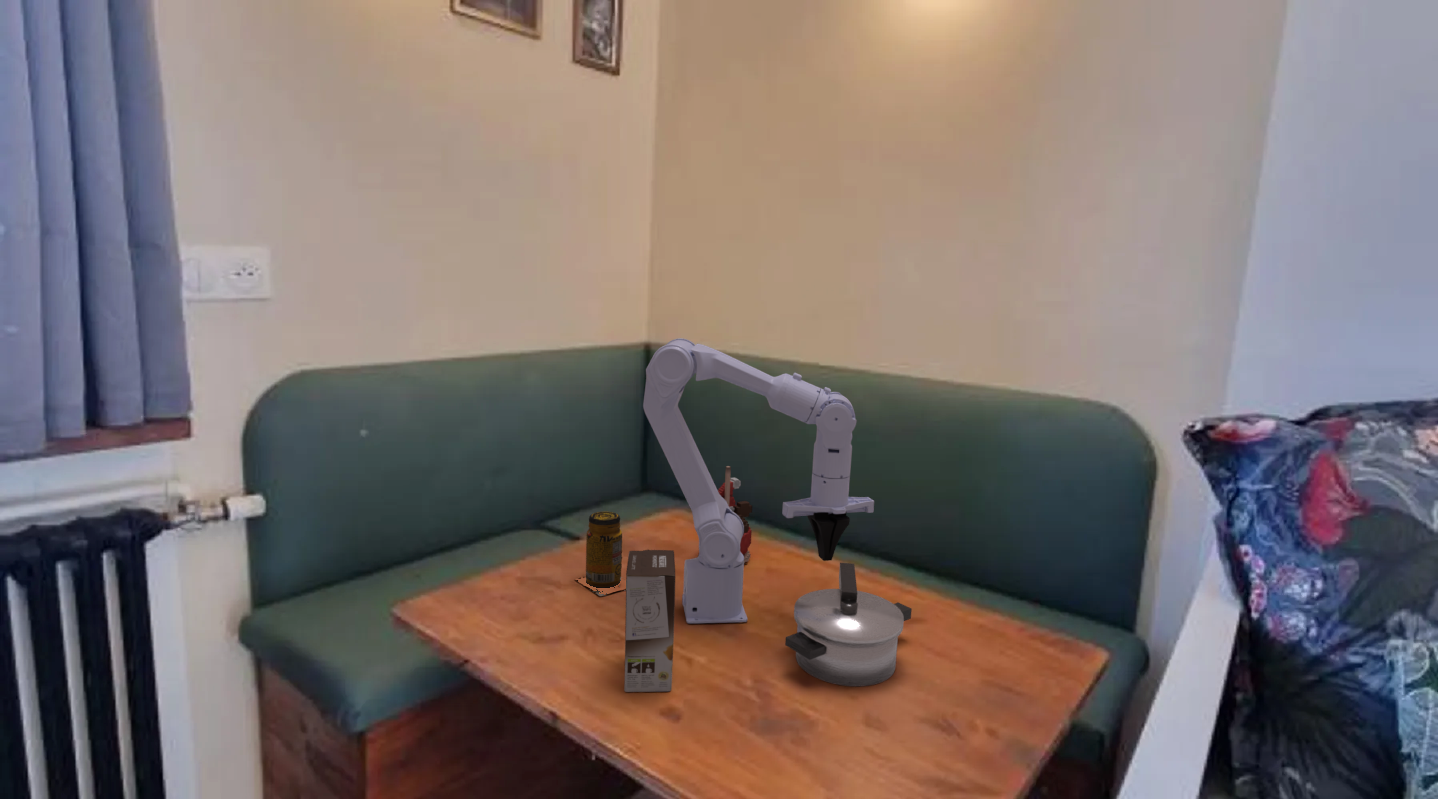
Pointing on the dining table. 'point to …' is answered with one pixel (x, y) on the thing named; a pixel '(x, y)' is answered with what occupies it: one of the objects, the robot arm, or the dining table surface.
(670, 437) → the robot arm
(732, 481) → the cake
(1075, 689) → the dining table surface
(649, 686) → the coffee box
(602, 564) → the condiment
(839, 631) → the lid
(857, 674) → the cooker pot
